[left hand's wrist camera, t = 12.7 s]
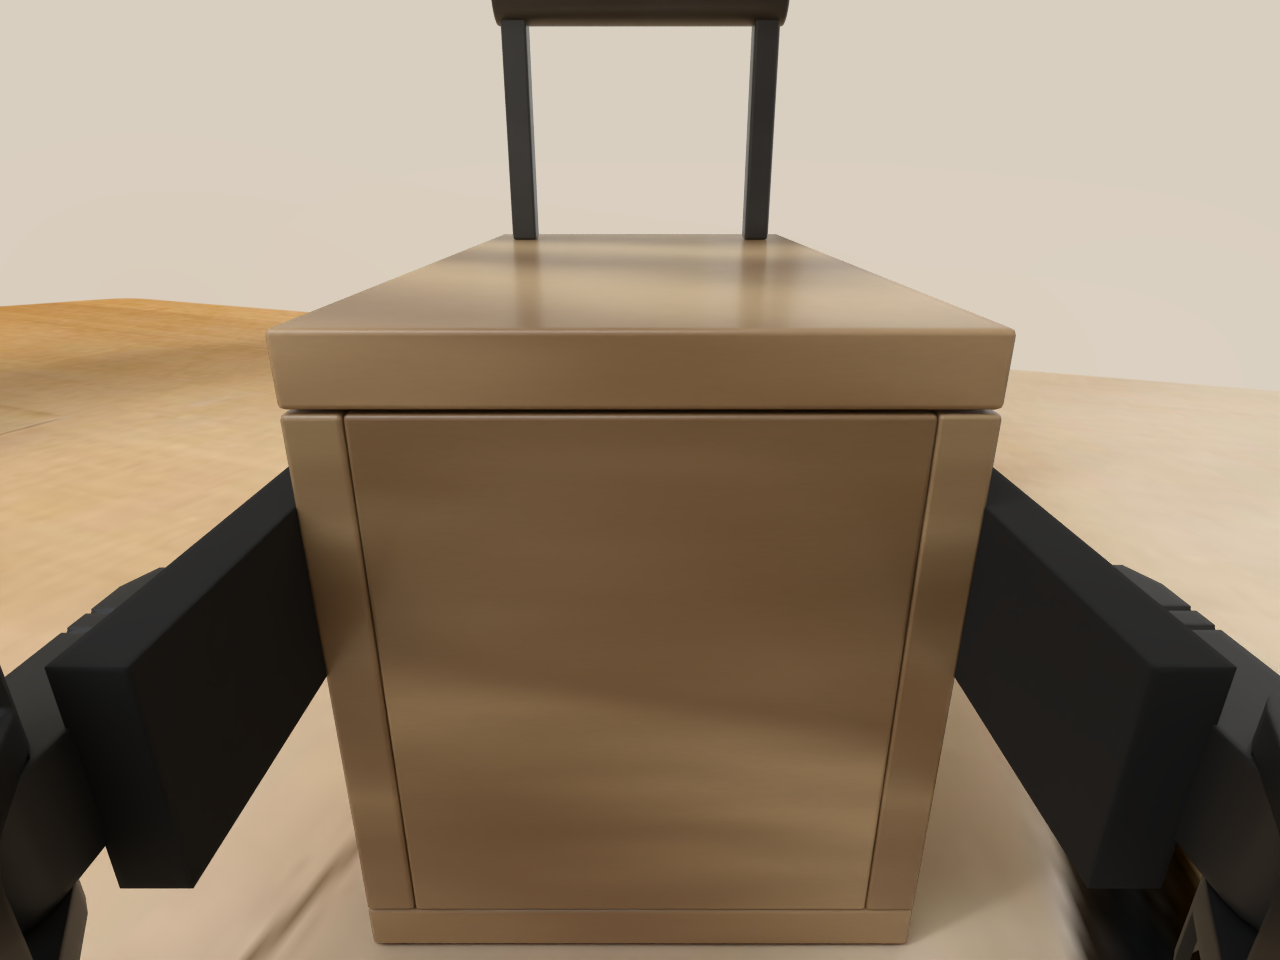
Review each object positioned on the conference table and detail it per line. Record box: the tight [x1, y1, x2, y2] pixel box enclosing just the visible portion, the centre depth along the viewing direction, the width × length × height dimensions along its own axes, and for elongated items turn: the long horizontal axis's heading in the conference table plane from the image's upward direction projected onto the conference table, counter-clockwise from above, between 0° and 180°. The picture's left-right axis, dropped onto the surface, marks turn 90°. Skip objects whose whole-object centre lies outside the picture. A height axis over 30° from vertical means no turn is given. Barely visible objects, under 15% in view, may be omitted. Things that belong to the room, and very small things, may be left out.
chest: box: [281, 409, 1001, 943], centre depth 19 cm, size 17×9×10 cm, turn 0°
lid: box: [266, 0, 1016, 410], centre depth 16 cm, size 17×9×8 cm, turn 0°
